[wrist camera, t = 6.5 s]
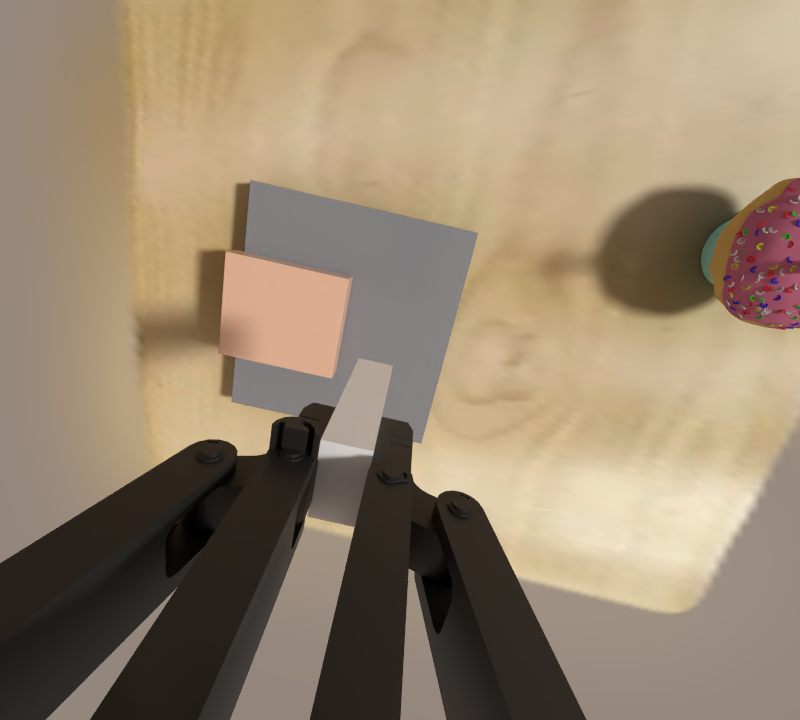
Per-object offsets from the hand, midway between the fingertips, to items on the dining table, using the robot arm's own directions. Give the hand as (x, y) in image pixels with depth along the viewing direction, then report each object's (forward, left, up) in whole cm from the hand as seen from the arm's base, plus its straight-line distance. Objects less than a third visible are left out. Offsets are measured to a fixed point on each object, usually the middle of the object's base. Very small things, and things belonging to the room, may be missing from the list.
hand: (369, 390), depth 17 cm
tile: (+1, -3, -11) cm, 11 cm away
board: (+1, -3, -13) cm, 13 cm away
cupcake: (-10, +22, -13) cm, 27 cm away
